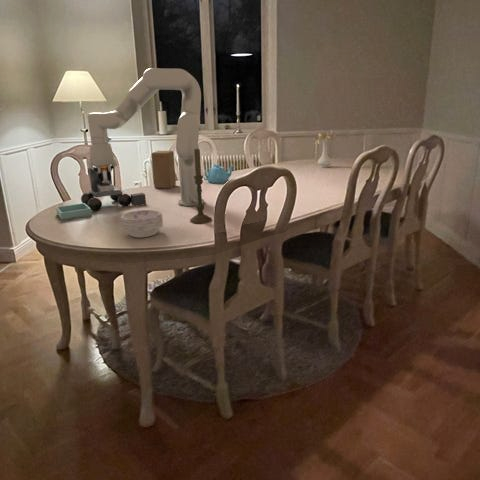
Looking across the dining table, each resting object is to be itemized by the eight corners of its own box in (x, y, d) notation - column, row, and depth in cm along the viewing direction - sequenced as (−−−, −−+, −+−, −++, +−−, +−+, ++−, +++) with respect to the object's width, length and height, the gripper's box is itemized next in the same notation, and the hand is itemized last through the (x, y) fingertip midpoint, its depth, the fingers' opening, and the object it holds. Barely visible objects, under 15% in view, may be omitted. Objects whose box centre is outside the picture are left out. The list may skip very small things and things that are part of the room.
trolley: (132, 205, 205) (128, 168, 199) (89, 212, 195) (83, 173, 189) (122, 199, 217) (118, 164, 212) (81, 205, 208) (76, 168, 202)
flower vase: (308, 168, 293) (309, 130, 285) (323, 164, 306) (325, 128, 297) (324, 170, 284) (326, 131, 276) (339, 166, 297) (341, 129, 289)
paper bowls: (149, 225, 172) (148, 206, 170) (171, 233, 162) (169, 213, 159) (115, 234, 163) (112, 214, 160) (136, 243, 152) (133, 222, 149)
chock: (146, 204, 207) (145, 194, 206) (134, 206, 204) (132, 195, 203) (143, 202, 211) (142, 192, 209) (131, 204, 208) (130, 194, 206)
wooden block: (170, 188, 240) (167, 152, 233) (153, 188, 242) (150, 152, 235) (176, 185, 249) (173, 150, 243) (160, 185, 251) (157, 150, 245)
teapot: (200, 183, 253) (199, 165, 250) (215, 178, 265) (214, 162, 262) (221, 185, 246) (220, 167, 243) (235, 180, 258) (234, 163, 254)
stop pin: (111, 187, 201) (108, 165, 198) (103, 188, 199) (99, 166, 196) (109, 185, 204) (106, 164, 201) (100, 187, 202) (97, 165, 199)
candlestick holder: (203, 225, 171) (199, 149, 162) (185, 222, 176) (180, 148, 166) (216, 219, 179) (213, 146, 169) (198, 216, 183) (194, 145, 174)
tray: (91, 216, 189) (90, 208, 188) (62, 220, 183) (60, 212, 182) (85, 210, 199) (84, 203, 198) (57, 214, 193) (55, 207, 192)
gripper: (115, 138, 202) (120, 177, 208) (79, 141, 194) (85, 181, 200) (119, 139, 196) (124, 179, 202) (83, 143, 188) (89, 184, 194)
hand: (105, 180), depth 201 cm, fingers closed on stop pin, 3 cm apart
